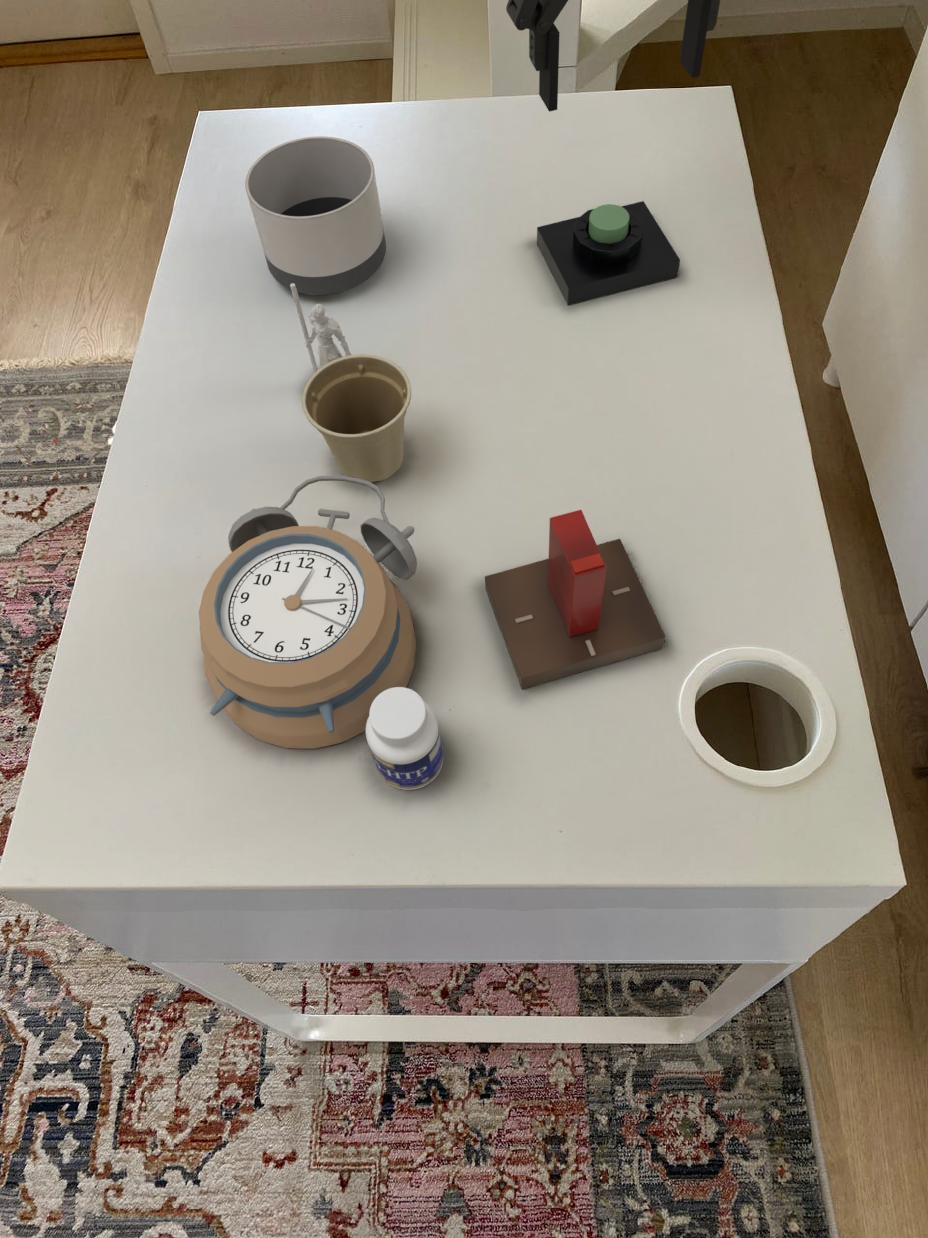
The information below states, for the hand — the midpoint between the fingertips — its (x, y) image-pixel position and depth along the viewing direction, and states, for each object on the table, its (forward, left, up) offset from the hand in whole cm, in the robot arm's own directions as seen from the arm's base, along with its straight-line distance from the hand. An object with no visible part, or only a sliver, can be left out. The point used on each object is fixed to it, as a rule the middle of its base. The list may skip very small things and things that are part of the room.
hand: (619, 85), depth 83 cm
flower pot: (+30, +18, -19) cm, 40 cm away
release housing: (0, 0, -19) cm, 19 cm away
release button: (0, 0, -15) cm, 15 cm away
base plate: (+18, +40, -19) cm, 48 cm away
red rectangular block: (+18, +40, -17) cm, 47 cm away
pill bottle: (+34, +48, -19) cm, 62 cm away
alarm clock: (+38, +34, -19) cm, 54 cm away
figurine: (+31, +8, -19) cm, 37 cm away
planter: (+28, -10, -19) cm, 35 cm away
